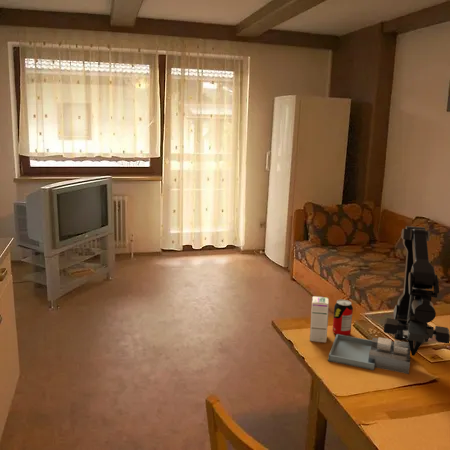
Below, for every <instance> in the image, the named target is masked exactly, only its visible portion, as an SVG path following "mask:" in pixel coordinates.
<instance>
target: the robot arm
mask: <svg viewBox="0 0 450 450" xmlns="http://www.w3.org/2000/svg"><path fill="white" fill-rule="evenodd" d="M430 234H431V231H430V230H427V229H426V227H425V226H412V225H406V226H405V228H402V230H401V235H400V236H401V239H402V245H403V246H404V248H405V250H406V255H405V256H406V257H405V267H404V268H405V270H404V271H405V272H404V281H403V292H402V294H401V295H400V296H399V297H398V299H397V304H395V306H394V309H393V318H391V317H389V318H388V317H387V318H386V319H384V327H383V332H384V333H385V334H390V335H394V339H397V340H402V341H404V340H405V341H407V342H408V344H409V346H410V350H411V351H410V355H411V356H413V357H414V356H415V355H416V353H417V352H418V350H419V349H420V347H421V346H422V345H423V343H428V342H429V340H430V339H433V337H435V338H434V339H435V340H436V342H438V343H443V344H450V329H449V328H448V327H447V326H439V325H435V327H434V326H430V325H428V323H430V322H433V320H434V319H435V318H436V315H437V313H436V309H435V307H434V304H433V302H432V298H435V299H437V298H438V294H439V293H440V283H439V280H440V279H439V278H438V275H437V274H436V272H435V267H434V266H433V265H432V264H431V263H430V260H429V258H430V257H429V250H428V249H429V248H428V242H430V236H431V235H430ZM432 289H433V290H432Z"/></svg>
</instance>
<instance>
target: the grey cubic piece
mask: <svg viewBox="0 0 450 450" xmlns="http://www.w3.org/2000/svg"><path fill="white" fill-rule="evenodd" d="M393 342H394V350H393V354H394V355H399V356H404V357H407V351H408V344H409V343H408V341H403V340H401V341H400V340H396V339H395V340H394V341H393Z"/></svg>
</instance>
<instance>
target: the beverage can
mask: <svg viewBox="0 0 450 450" xmlns="http://www.w3.org/2000/svg"><path fill="white" fill-rule="evenodd" d="M353 309H354V307H353V305H352V302H351V301H350V300H347V299H341V298H340V299H337V300H336V303H335V304H334V305H333V320H332V321H333V322H332V332H333V333H334V334H335V335H336V334H340V335H346V336H350V334H351V332H352V324H353V323H352V321H353V311H354V310H353Z"/></svg>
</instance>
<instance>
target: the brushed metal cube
mask: <svg viewBox="0 0 450 450" xmlns="http://www.w3.org/2000/svg"><path fill="white" fill-rule="evenodd" d="M377 339H378V343H377V351H378V352H383V353H388V354H390V349H391V341H393V340H392V338H391V339H390V338H386V337H380V336H379V337H378V338H377Z"/></svg>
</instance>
